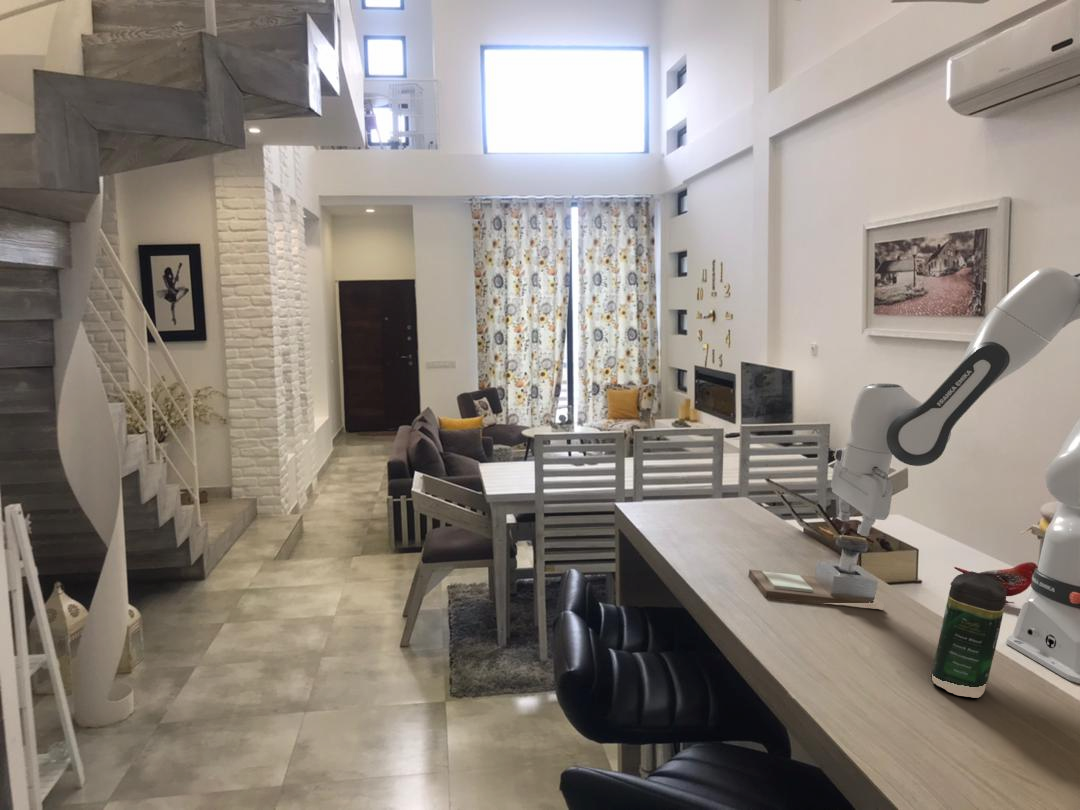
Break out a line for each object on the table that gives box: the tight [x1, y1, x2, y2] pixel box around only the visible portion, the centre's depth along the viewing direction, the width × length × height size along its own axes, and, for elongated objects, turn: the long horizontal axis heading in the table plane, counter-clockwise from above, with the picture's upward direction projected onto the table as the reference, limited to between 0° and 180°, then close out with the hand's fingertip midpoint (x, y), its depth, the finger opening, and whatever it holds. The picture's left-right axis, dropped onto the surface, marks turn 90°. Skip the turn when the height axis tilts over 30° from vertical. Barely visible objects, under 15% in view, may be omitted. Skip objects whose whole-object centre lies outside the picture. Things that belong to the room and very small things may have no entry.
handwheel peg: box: [835, 534, 869, 575], centre depth 165 cm, size 6×6×11 cm
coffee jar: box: [931, 571, 1007, 687], centre depth 128 cm, size 10×8×19 cm
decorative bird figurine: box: [953, 561, 1038, 605], centre depth 174 cm, size 3×18×10 cm, turn 81°
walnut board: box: [748, 569, 874, 604], centre depth 165 cm, size 12×24×2 cm, turn 92°
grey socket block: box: [813, 560, 879, 600], centre depth 165 cm, size 9×9×4 cm
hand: (852, 527), depth 164 cm, fingers open, 8 cm apart
